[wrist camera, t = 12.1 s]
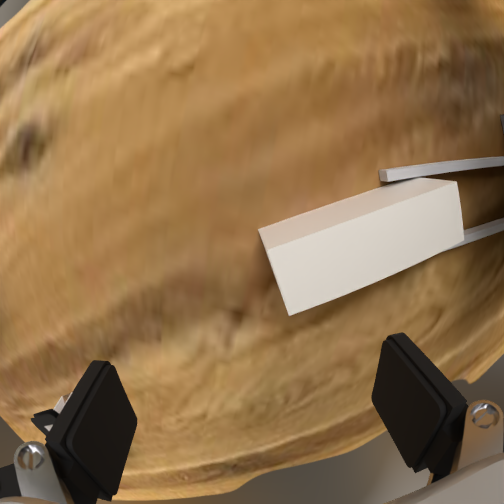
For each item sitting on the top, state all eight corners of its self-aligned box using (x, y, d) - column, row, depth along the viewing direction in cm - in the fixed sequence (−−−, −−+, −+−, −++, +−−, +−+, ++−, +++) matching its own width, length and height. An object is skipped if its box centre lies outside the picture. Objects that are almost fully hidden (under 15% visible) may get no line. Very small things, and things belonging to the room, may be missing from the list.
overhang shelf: (366, 112, 22) (445, 83, 11) (507, 115, 22) (569, 113, 11) (390, 309, 28) (450, 370, 17) (515, 256, 28) (569, 282, 16)
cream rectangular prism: (257, 228, 25) (266, 250, 18) (411, 176, 24) (456, 181, 17) (275, 279, 26) (289, 315, 19) (420, 224, 26) (464, 240, 19)
